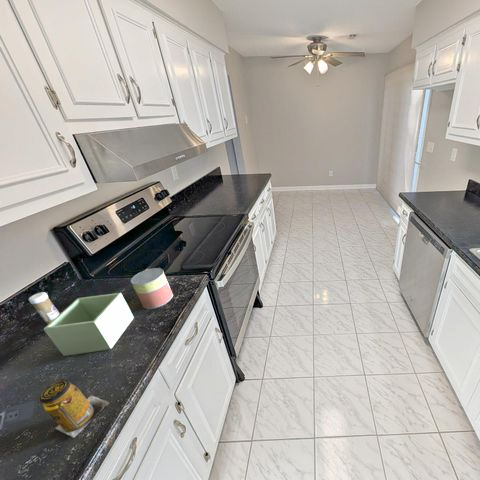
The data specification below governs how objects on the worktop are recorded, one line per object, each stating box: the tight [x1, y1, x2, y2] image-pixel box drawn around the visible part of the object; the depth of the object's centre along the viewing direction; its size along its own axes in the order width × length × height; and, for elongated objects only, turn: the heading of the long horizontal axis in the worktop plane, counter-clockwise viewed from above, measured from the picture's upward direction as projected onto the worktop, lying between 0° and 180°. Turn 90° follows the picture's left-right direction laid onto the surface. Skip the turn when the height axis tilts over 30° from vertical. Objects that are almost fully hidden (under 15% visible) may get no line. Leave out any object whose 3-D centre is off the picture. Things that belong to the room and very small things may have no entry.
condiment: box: [39, 379, 110, 439], centre depth 62 cm, size 7×8×12 cm
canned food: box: [130, 267, 174, 310], centre depth 103 cm, size 11×11×12 cm
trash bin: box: [43, 292, 135, 357], centre depth 87 cm, size 15×15×12 cm
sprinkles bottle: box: [28, 291, 61, 325], centre depth 93 cm, size 5×5×14 cm
